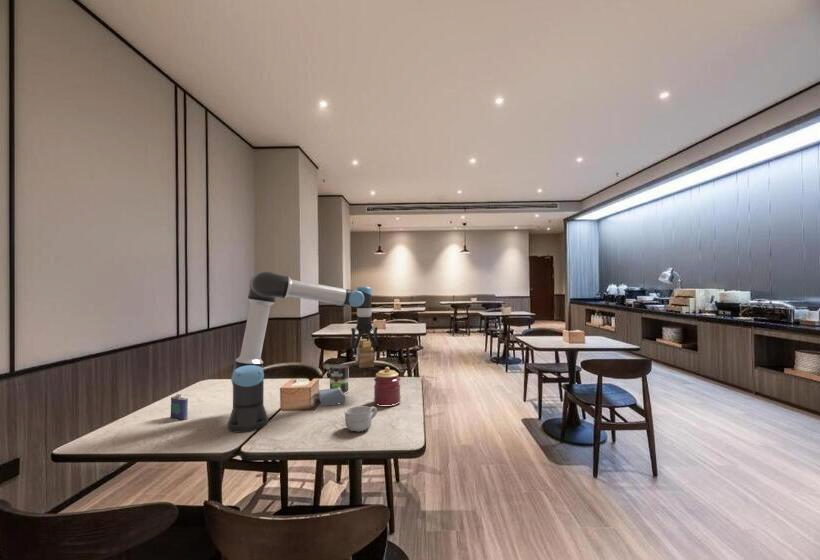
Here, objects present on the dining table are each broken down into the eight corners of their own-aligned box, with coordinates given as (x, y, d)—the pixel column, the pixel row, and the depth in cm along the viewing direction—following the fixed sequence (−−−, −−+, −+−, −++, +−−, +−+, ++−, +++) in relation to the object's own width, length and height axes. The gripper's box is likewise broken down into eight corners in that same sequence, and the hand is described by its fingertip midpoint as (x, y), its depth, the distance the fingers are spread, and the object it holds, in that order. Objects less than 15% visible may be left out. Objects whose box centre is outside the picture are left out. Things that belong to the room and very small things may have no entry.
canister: (405, 401, 178) (405, 365, 179) (390, 409, 167) (390, 371, 168) (384, 397, 185) (384, 363, 186) (368, 404, 174) (368, 367, 175)
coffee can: (345, 395, 189) (345, 368, 190) (326, 394, 191) (326, 367, 191) (351, 389, 200) (351, 364, 200) (333, 389, 201) (333, 363, 202)
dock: (345, 403, 176) (345, 394, 176) (322, 406, 172) (322, 397, 172) (340, 395, 189) (340, 387, 189) (318, 398, 185) (318, 389, 185)
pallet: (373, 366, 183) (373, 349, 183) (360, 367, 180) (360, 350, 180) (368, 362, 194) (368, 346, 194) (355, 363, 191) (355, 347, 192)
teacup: (349, 437, 136) (349, 415, 137) (341, 427, 146) (341, 407, 146) (383, 430, 143) (383, 409, 143) (373, 421, 152) (373, 402, 153)
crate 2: (371, 350, 182) (371, 342, 182) (363, 350, 181) (363, 342, 181) (369, 348, 186) (369, 341, 186) (361, 349, 185) (361, 341, 185)
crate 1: (367, 347, 190) (367, 340, 190) (359, 348, 188) (359, 340, 188) (365, 346, 194) (365, 339, 194) (358, 347, 192) (358, 339, 192)
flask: (189, 418, 157) (189, 393, 157) (182, 421, 154) (182, 395, 154) (174, 416, 160) (174, 391, 160) (168, 418, 157) (168, 393, 158)
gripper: (380, 315, 195) (380, 357, 194) (343, 316, 188) (343, 360, 187) (384, 316, 188) (384, 360, 187) (346, 317, 181) (346, 363, 180)
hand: (364, 360), depth 187 cm, fingers closed on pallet, 7 cm apart
